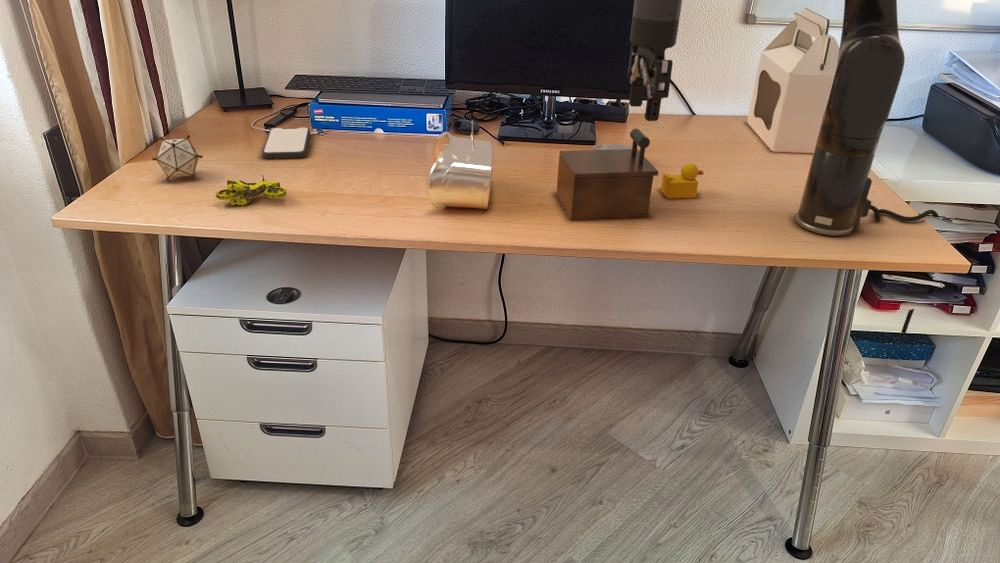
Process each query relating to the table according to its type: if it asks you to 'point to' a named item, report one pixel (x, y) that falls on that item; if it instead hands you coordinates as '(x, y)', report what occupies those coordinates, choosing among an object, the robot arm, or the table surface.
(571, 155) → the chest lid
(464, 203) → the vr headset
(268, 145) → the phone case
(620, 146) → the stone block
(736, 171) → the table surface
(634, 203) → the toy chest
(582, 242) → the table surface
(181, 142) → the game die
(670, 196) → the toy duck
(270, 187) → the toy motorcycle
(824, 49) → the gable box
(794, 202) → the table surface
